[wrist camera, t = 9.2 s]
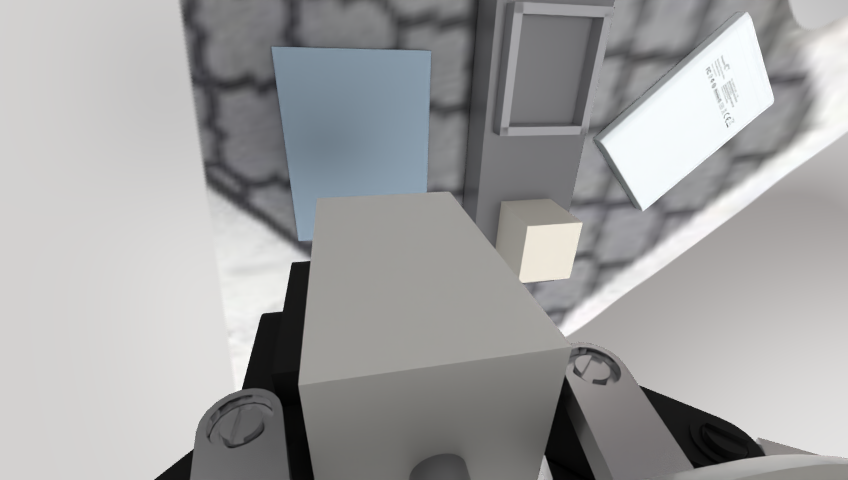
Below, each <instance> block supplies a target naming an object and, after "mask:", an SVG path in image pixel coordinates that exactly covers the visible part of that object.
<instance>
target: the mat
mask: <svg viewBox="0 0 848 480" xmlns="http://www.w3.org/2000/svg"><path fill="white" fill-rule="evenodd" d="M271 48H272V55H273V62H274V70H275V77H276V84H277V91H278V98H279V105H280V112H281V119H282V126H283V134H284V141H285V148H286V155H287V162H288V169H289V176H290V183H291V191H292V198H293V205H294V212H295V219H296V226H297V233H298V240H299V241H305V240H313V233H314V223H315V213H316V203H317V198H329V197H349V196H369V195H390V194H410V193H427V169H428V136H429V104H430V71H431V51H428V50H389V49H350V48H310V47H271Z"/></svg>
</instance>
